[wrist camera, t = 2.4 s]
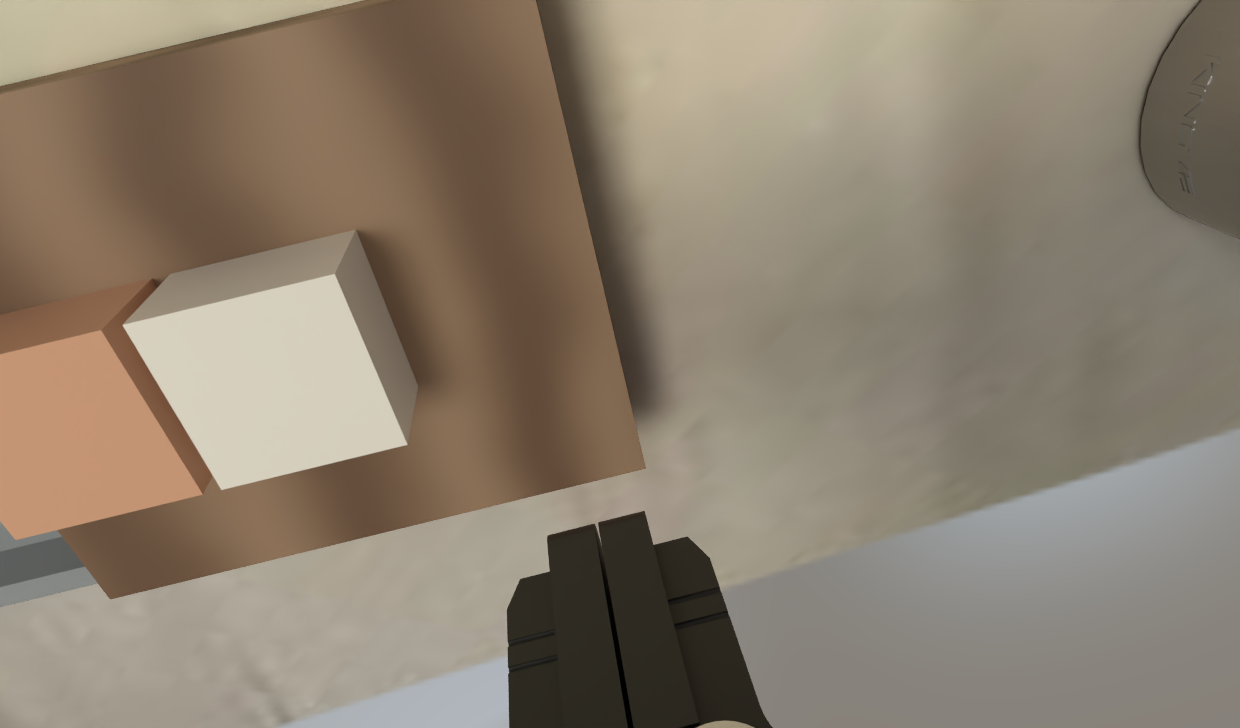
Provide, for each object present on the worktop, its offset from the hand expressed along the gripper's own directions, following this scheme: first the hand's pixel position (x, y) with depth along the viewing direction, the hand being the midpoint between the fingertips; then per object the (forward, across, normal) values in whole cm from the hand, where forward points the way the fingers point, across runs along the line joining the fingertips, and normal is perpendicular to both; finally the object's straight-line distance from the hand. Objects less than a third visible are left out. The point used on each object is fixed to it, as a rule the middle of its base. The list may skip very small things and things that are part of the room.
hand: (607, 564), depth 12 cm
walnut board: (+15, +8, 0) cm, 17 cm away
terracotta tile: (+12, +13, 0) cm, 17 cm away
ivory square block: (+12, +7, 0) cm, 14 cm away
